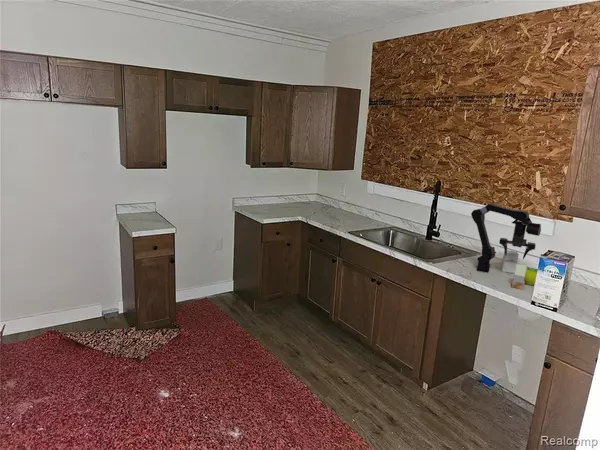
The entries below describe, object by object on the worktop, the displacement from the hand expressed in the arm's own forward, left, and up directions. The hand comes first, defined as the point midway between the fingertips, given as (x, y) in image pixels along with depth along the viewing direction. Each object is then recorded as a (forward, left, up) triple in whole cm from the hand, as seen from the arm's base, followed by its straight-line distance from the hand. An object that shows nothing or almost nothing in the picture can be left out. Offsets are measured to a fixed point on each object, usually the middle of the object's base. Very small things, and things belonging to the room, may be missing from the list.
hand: (514, 257), depth 242 cm
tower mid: (+4, -15, -9) cm, 18 cm away
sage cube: (+4, -15, -5) cm, 16 cm away
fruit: (+10, -5, -13) cm, 17 cm away
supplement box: (-2, +14, -13) cm, 19 cm away
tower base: (+4, -15, -13) cm, 21 cm away
